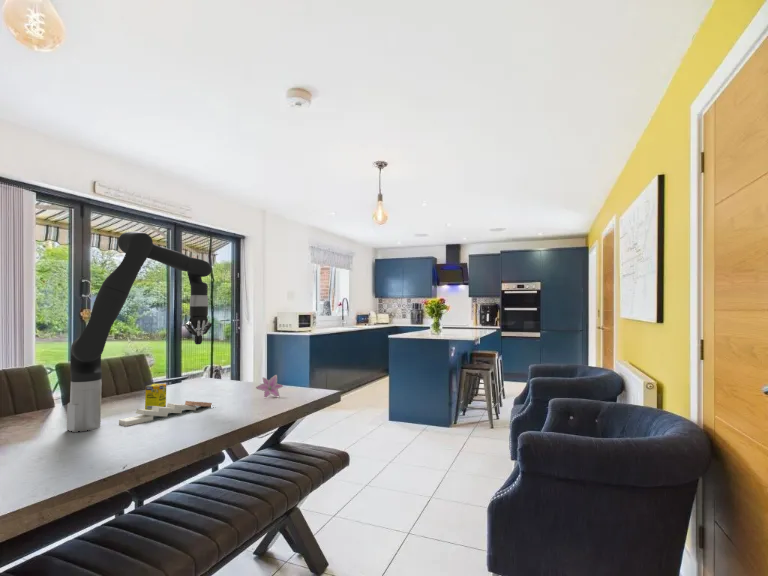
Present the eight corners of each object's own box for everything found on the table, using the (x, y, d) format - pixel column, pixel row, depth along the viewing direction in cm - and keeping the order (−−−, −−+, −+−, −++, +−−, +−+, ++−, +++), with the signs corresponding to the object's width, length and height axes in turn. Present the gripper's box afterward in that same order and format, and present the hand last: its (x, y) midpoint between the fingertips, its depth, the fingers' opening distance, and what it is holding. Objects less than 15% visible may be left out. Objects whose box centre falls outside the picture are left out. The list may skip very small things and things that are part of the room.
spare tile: (211, 406, 185) (194, 405, 176) (202, 405, 187) (184, 404, 178) (211, 402, 186) (195, 401, 177) (202, 402, 187) (185, 400, 178)
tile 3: (181, 413, 173) (158, 411, 165) (174, 411, 176) (151, 410, 168) (182, 409, 174) (159, 407, 166) (175, 407, 177) (152, 405, 168)
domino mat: (146, 423, 159) (146, 423, 159) (133, 420, 164) (133, 419, 164) (218, 407, 185) (218, 406, 185) (205, 404, 190) (205, 404, 190)
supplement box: (158, 412, 176) (159, 386, 177) (144, 412, 176) (145, 386, 177) (166, 409, 182) (166, 383, 182) (152, 409, 182) (153, 383, 183)
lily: (251, 400, 205) (254, 383, 202) (261, 386, 216) (264, 370, 212) (275, 407, 205) (278, 391, 201) (284, 393, 216) (287, 378, 212)
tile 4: (167, 416, 168) (142, 414, 160) (159, 415, 171) (135, 413, 163) (168, 412, 169) (144, 410, 161) (160, 410, 171) (136, 408, 163)
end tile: (153, 419, 164) (125, 426, 155) (146, 418, 166) (118, 424, 158) (153, 415, 164) (126, 421, 155) (146, 413, 166) (118, 419, 158)
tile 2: (195, 410, 179) (174, 408, 171) (188, 408, 181) (166, 407, 173) (196, 406, 179) (175, 404, 171) (189, 404, 182) (167, 403, 174)
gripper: (190, 305, 184) (189, 345, 184) (216, 305, 196) (216, 343, 195) (180, 305, 188) (179, 345, 188) (206, 305, 200) (206, 342, 199)
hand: (198, 344), depth 191 cm, fingers closed
